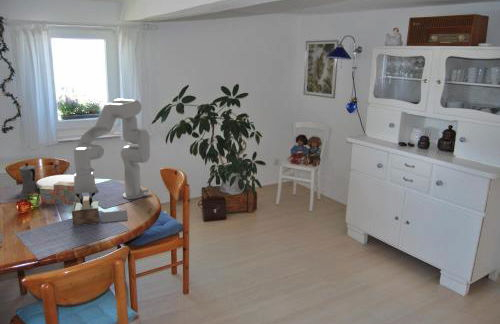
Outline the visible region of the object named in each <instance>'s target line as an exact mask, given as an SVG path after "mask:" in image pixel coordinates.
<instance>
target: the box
mask: <svg viewBox="0 0 500 324" xmlns="http://www.w3.org/2000/svg"><path fill="white" fill-rule="evenodd" d="M94 201H99V200H98V199H96V200H95V199H94V200H93V199H92V202H94ZM76 203H81V202H74V204H73V205H72V208H71V217H72V227H76V226H75V225H79V226H84V225H83V224H88V225H94V224H93V223H97V224H99V220H98V219H100V212H99V208H98V210H97V208H93V209H83V210H75V206H76Z"/></svg>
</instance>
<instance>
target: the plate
mask: <svg viewBox="0 0 500 324" xmlns="http://www.w3.org/2000/svg"><path fill="white" fill-rule="evenodd" d="M59 181H62V182H74V174H56V175H50V176H46V177H43V178H41V179H39V180H37V181H36V185H37V188H38V189H40V188H42V187H43V186H45V185H49V186H54V184H55V183H57V182H59Z"/></svg>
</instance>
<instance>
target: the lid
mask: <svg viewBox="0 0 500 324" xmlns="http://www.w3.org/2000/svg"><path fill="white" fill-rule="evenodd" d="M82 196H83V195H82ZM99 203H100V202H99V200H98V201H94V202H92V203H91V206H90V203H89V195H86V196H83V206H82V204H81V203H76V206H75V210H83V209H93V208H97V210H98V209H99Z"/></svg>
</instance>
